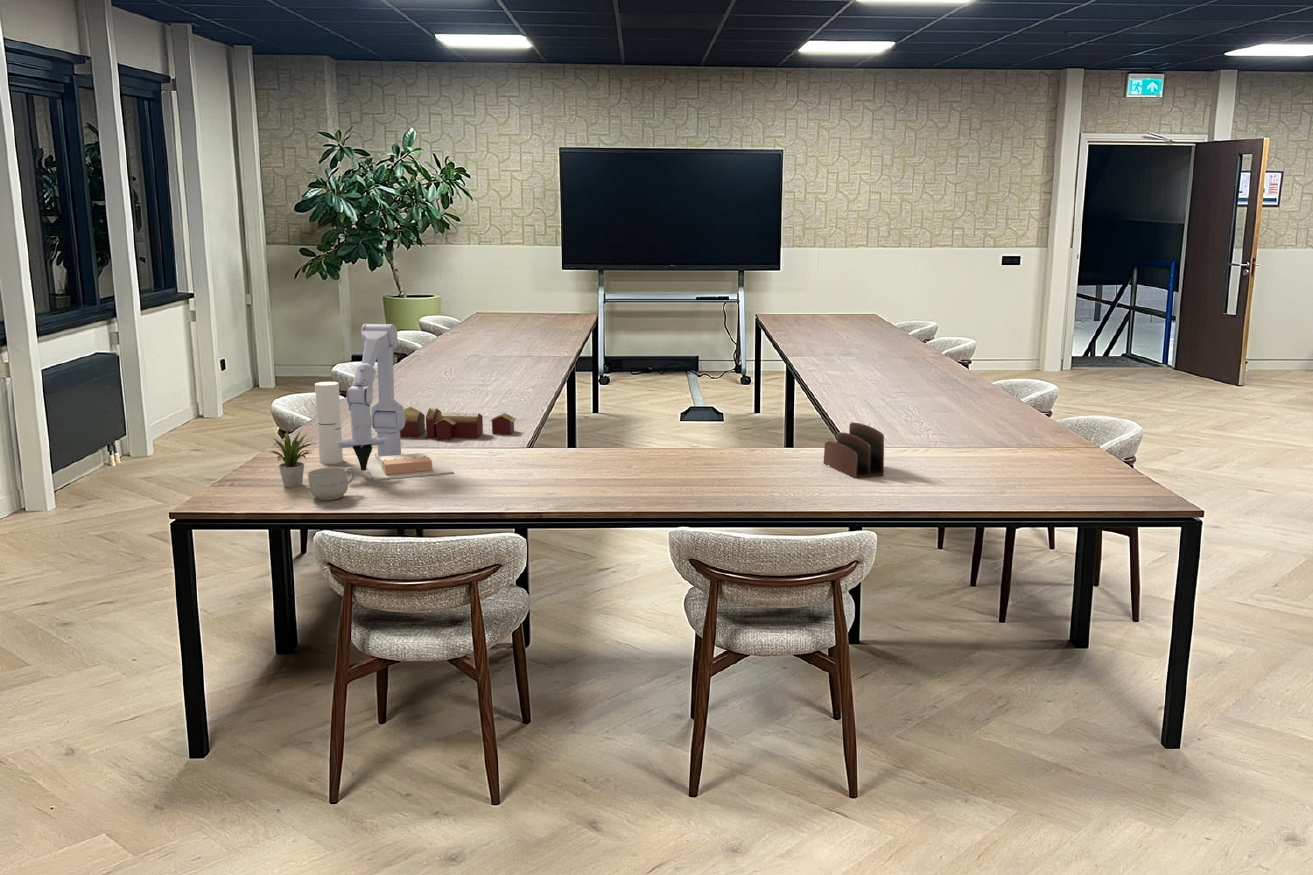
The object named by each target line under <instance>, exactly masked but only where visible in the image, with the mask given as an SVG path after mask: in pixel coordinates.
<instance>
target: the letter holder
mask: <svg viewBox="0 0 1313 875" xmlns="http://www.w3.org/2000/svg"><path fill="white" fill-rule="evenodd" d="M836 435H837V436H836V441H832V440H826V441H825V442H824V452H823V465H824V464H827V465H829V466H830V467H829V466H828V467H829V468H831V467H832V468H831V469H833V468H834V470H835V469H836V470H835V471H837V470H838V471H837V472H840V471H841V472H840V473H842V472H843V474H844V473H845V475H846V474H847V475H846V476H848V475H849V477H851V478H853V479H855V478H859V479H866V478H867V479H869V478H877V477H884V474H885V467H884V466H885V463H884V462H885V448H884V447H885V435H884V434H883V432H881V431H880V430H877V429H876V428H874V427H871V426H869V425H866V424H864V423H858V422H850V423H849V433H848V432H843V431H842V432H837V434H836Z"/></svg>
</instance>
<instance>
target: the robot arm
mask: <svg viewBox="0 0 1313 875" xmlns="http://www.w3.org/2000/svg"><path fill="white" fill-rule="evenodd" d="M360 337H361V340H362V344H363V346H364V347H363V354H362V360H361V364H359V365H358V366H357V367H356V370H355V373H354V377H353V381H352V383H351V384H352V385H351V386H349V387H348V388H347V391H346V398H345V399H346V403H347V405H348V410H349V412H350V424H351V426H350V427H351V439H344V440H342V441H337V448H338V449H341V448H342V449H344V448H345V449H346V448H352V450H353V451H354V453H355V456H356V458H357V460H358V463H359V466H360V468H359V469H360V470H361V472H363V471H367V469H366V467H367V464H368V463H369V459H370V456H371V453H372V451H373V446H377V452H376V453H374V456H375V457H376V459H377V460H378V461H379V457H381V456H393V455H403V454H402V446H401V437H400V430H402V429H403V428H404V426H405V414H404V409H405V408H404V406H403V405H402V404H401V403H399V402H398V401H397V400H396V399H395V383H394V382H395V381H394V380H395V379H394V356H393V354H394V350H396V349H398V343H399V342H398V329H397V326H395V324H394V323H390V324H389V323H388V324H387V323H385V324H384V323H366V322H365V323H364V324H363V325H361V329H360ZM376 362H377V363H376ZM375 364H377V372H376V369H375V368H374V367H375ZM376 373H377V387H378V388H377V390H378V401H377V402H376V403H374V405H372V403H373V399H374V388H373V385H374V381H375V378H376ZM371 405H372V407H371ZM372 429H373V430H374V432H375V433H376V437H372Z"/></svg>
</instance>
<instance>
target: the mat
mask: <svg viewBox="0 0 1313 875" xmlns="http://www.w3.org/2000/svg"><path fill="white" fill-rule="evenodd" d="M430 459H431V460H432V470H431V471H419V472H408V473H396V474H385V473H384V471H383V470H382V469H381V467H380V464H379V463H369V464H368V463H367V467H366V471H367V472H368V473H369V475H370V477H371V479H372V480H373V481H382V480H395V479H405V478H406V479H407V478H417V477H427V476H438V475H439V476H441V475H450V474H451V475H452V473H453V474H455V471H454V470H453V469H452V468H451V467H450V465H448V463H447V462H446V461H445V460H444V459H443V458H442V457H441V458H440V457H439V458H430Z"/></svg>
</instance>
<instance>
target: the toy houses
mask: <svg viewBox="0 0 1313 875" xmlns="http://www.w3.org/2000/svg"><path fill="white" fill-rule="evenodd" d="M404 414H405V426H404V428H403V429H402V430H400V438H418V439H419V438H420V437H421V436H423V435H424V434H425V435H426V439H431V440H433V439H434V440H435V439H436V441H452V440H453V439H479V438H480V437H481V436H483V434H484V423H483V422H484V420H483V415H482V414H481V413H470V414H469V412H467V413H466V412H465V413H463V412H462V413H461V412H459V413H458V412H457V413H456V412H449V413H448V412H445V413H444V412H442V411H441V410H440V409H439V408H428V411H427V413H426V416H425V414H424V413H423V412H422V411H420V410H418V409H416V408H415V407H412V406H409V407H407V408H404ZM516 420H517V418H516V417H514V416H512V415H509V414H508V413H506V412H503V413H501V414H499V415H496V416H494V417H493V418H491V419H490V420H489V421H488V422H491V433H492V435H504V436H505V435H509V436H510V435H512V434H513V433H514V432H515V422H516Z"/></svg>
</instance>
